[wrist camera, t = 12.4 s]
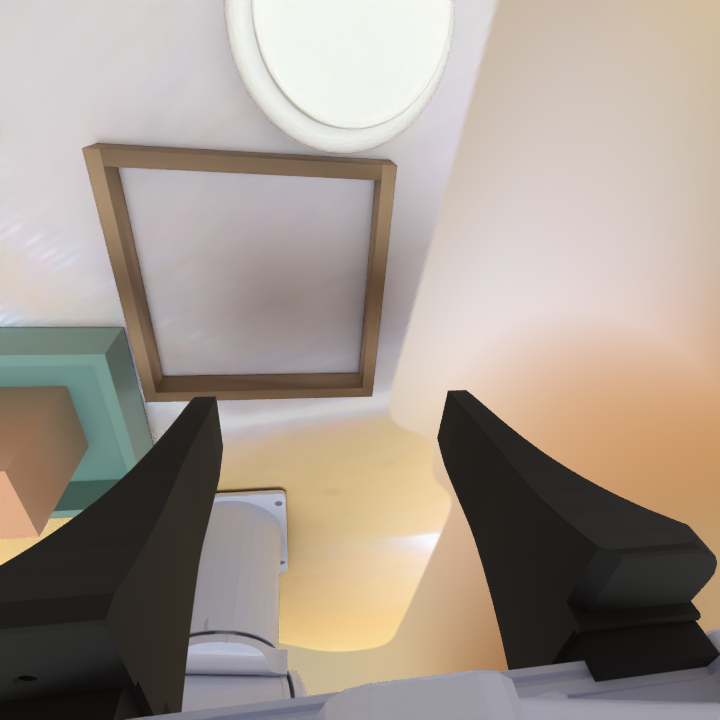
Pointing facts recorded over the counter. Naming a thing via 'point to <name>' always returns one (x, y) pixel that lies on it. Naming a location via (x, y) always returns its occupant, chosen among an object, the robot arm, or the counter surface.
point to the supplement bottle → (340, 65)
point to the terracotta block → (36, 455)
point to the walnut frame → (111, 156)
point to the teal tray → (84, 399)
